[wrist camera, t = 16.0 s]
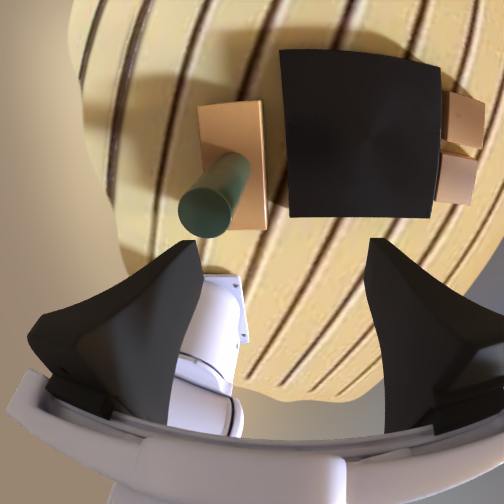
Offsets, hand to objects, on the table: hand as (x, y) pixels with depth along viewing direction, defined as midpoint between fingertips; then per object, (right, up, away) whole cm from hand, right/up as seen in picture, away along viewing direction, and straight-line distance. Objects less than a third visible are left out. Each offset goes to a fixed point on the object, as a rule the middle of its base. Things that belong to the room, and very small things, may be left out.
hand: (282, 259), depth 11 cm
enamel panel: (+7, +9, +6) cm, 13 cm away
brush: (-2, +7, +8) cm, 11 cm away
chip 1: (+15, +11, +3) cm, 19 cm away
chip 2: (+15, +7, +6) cm, 18 cm away
